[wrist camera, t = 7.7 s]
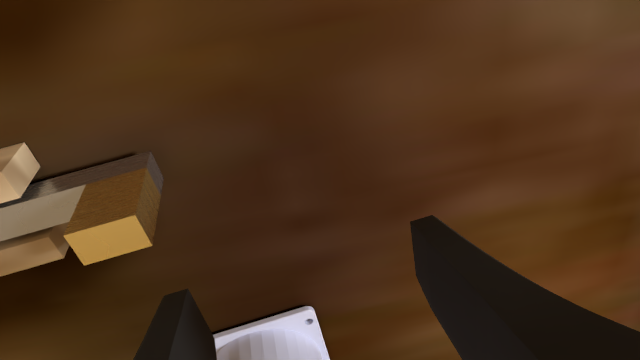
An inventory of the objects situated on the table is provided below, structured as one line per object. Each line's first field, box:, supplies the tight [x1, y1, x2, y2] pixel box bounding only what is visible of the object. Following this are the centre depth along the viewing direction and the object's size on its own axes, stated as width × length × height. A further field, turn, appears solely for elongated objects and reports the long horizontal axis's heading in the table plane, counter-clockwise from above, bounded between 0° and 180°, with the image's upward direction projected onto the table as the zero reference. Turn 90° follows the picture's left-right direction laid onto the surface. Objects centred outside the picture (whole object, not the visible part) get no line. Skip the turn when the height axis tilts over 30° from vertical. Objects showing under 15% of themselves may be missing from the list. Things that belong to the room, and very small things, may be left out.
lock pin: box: [0, 151, 164, 266], centre depth 17 cm, size 1×11×5 cm, turn 102°
